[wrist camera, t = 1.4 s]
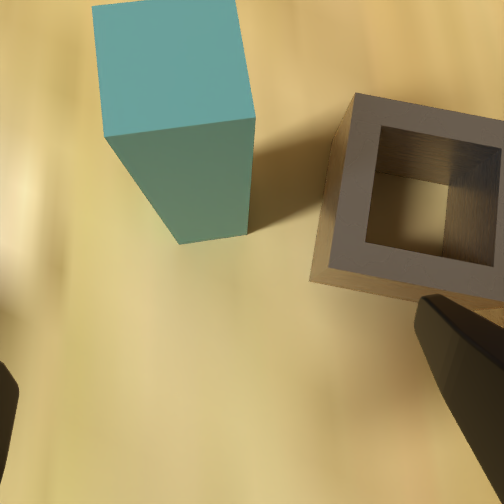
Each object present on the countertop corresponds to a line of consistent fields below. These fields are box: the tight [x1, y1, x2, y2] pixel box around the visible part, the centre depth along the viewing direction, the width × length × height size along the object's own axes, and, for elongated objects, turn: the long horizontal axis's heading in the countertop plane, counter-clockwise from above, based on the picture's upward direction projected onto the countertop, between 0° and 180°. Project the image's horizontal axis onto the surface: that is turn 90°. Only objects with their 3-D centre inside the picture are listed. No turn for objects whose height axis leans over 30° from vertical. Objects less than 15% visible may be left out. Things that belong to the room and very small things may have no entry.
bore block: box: [309, 93, 504, 311], centre depth 21 cm, size 9×9×5 cm
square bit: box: [92, 0, 256, 245], centre depth 17 cm, size 4×4×13 cm
